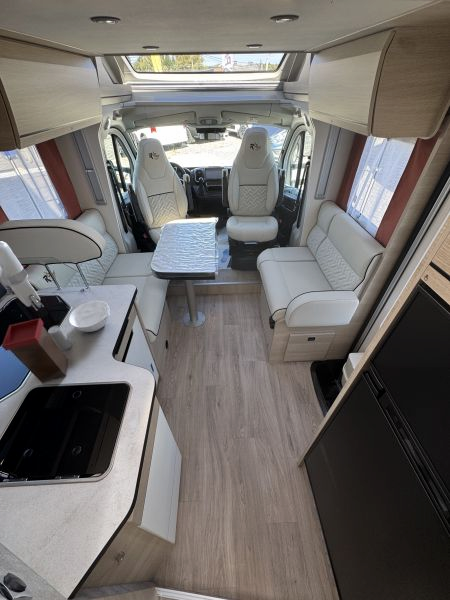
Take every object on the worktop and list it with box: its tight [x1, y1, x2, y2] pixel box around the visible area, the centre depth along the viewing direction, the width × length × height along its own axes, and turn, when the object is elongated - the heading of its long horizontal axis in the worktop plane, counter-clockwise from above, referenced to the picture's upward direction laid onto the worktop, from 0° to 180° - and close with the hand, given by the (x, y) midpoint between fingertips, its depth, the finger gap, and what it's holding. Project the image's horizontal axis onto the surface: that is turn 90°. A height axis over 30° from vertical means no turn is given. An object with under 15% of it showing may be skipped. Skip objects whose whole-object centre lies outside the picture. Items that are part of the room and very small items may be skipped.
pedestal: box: [9, 326, 69, 384], centre depth 100 cm, size 9×9×23 cm
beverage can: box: [47, 325, 72, 351], centre depth 113 cm, size 5×5×12 cm
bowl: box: [68, 300, 111, 333], centre depth 125 cm, size 18×18×7 cm
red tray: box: [1, 317, 44, 352], centre depth 91 cm, size 10×10×2 cm
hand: (39, 310), depth 101 cm, fingers open, 9 cm apart
